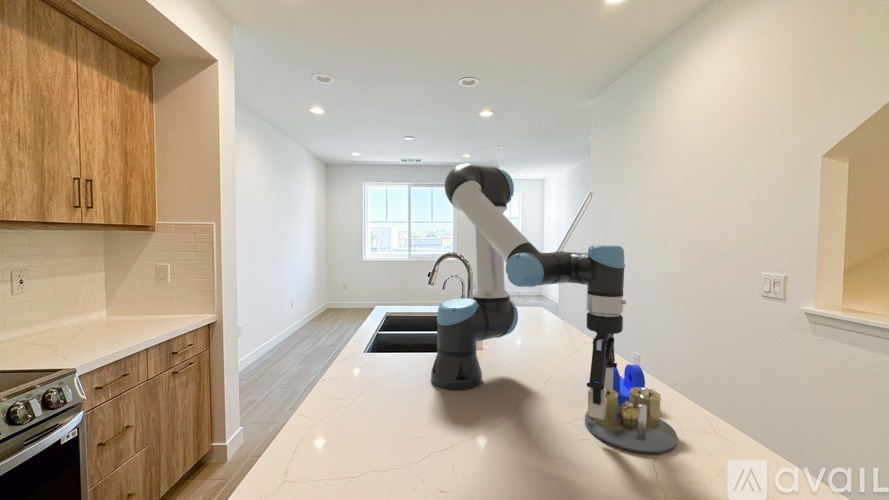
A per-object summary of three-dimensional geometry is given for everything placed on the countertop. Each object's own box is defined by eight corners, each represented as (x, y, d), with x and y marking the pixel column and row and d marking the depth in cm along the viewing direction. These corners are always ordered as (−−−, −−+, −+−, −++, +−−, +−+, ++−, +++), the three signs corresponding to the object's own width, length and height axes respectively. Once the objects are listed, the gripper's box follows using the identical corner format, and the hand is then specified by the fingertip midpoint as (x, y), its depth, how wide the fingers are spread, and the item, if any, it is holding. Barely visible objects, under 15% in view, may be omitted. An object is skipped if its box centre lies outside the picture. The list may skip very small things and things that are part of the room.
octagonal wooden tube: (586, 419, 81) (586, 393, 81) (591, 408, 86) (591, 384, 86) (615, 427, 78) (616, 400, 77) (618, 415, 83) (619, 390, 82)
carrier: (577, 436, 76) (578, 398, 76) (592, 403, 91) (593, 372, 91) (677, 466, 67) (679, 423, 66) (676, 423, 82) (677, 388, 81)
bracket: (644, 405, 91) (645, 370, 91) (611, 404, 92) (612, 369, 91) (614, 377, 109) (615, 348, 109) (586, 376, 109) (587, 347, 109)
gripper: (615, 327, 68) (612, 435, 69) (628, 305, 89) (626, 389, 90) (575, 321, 72) (572, 423, 73) (596, 302, 93) (594, 382, 94)
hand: (602, 404), depth 82 cm, fingers open, 13 cm apart
